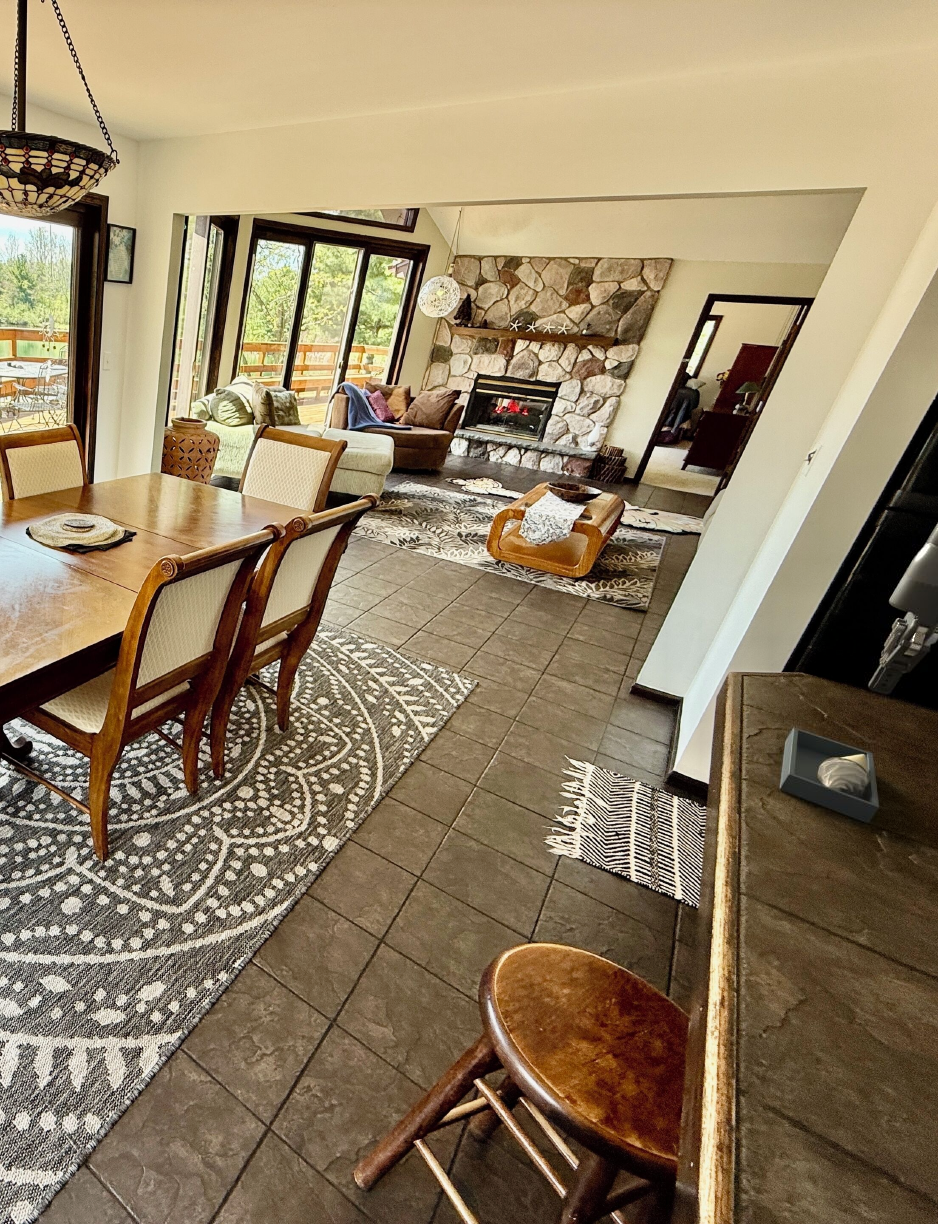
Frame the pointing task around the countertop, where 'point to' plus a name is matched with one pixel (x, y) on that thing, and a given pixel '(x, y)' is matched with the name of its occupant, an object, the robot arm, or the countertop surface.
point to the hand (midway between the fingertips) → (878, 690)
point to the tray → (803, 781)
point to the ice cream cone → (845, 773)
